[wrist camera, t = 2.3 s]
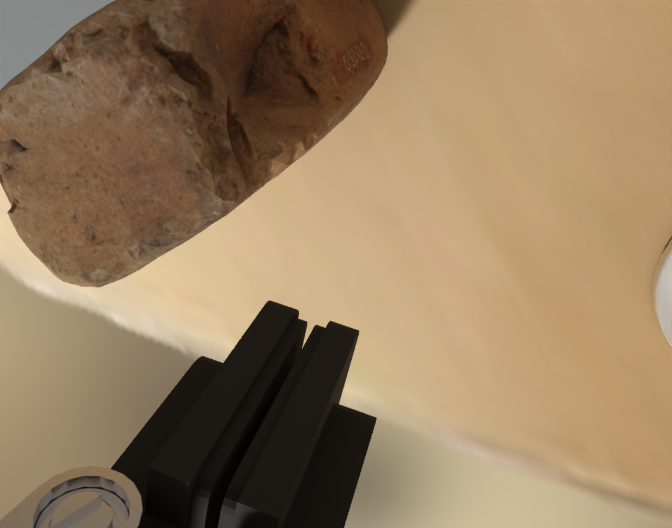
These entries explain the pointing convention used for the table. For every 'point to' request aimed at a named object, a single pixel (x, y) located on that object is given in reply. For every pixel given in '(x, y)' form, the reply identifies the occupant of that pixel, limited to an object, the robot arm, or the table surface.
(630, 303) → the table surface
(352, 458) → the robot arm
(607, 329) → the table surface
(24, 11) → the mat
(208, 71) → the pitted brown stone
